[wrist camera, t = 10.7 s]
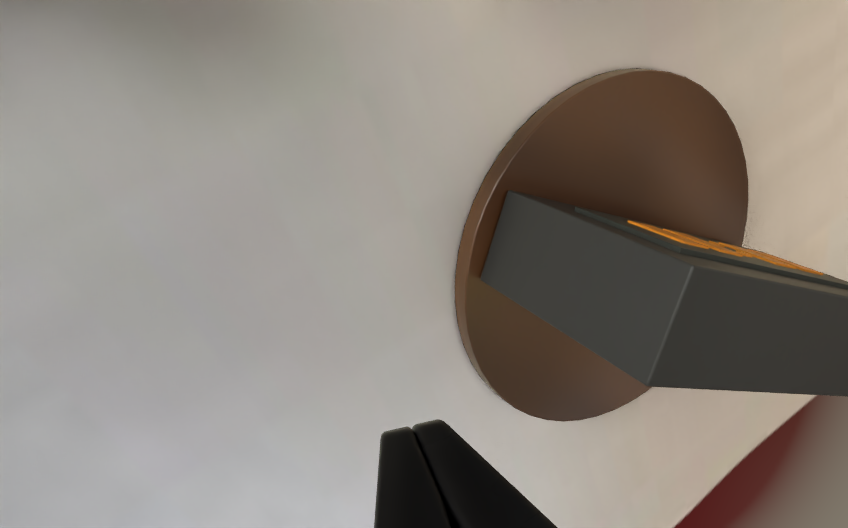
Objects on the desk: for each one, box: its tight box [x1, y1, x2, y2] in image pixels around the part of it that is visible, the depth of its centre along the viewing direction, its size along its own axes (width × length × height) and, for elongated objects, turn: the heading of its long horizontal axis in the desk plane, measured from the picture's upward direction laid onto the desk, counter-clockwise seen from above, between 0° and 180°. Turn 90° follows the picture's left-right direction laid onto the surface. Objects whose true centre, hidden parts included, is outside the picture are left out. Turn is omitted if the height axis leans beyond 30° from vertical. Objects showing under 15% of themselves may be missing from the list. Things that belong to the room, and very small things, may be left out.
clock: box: [480, 190, 848, 396], centre depth 21 cm, size 3×12×7 cm, turn 71°
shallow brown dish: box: [455, 68, 748, 421], centre depth 25 cm, size 13×13×1 cm
